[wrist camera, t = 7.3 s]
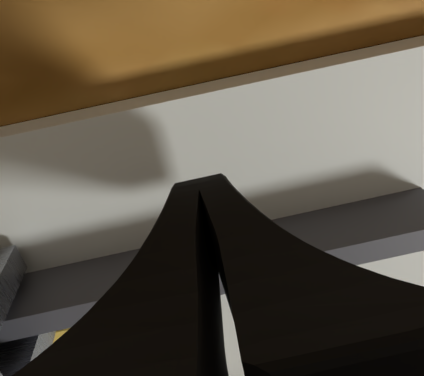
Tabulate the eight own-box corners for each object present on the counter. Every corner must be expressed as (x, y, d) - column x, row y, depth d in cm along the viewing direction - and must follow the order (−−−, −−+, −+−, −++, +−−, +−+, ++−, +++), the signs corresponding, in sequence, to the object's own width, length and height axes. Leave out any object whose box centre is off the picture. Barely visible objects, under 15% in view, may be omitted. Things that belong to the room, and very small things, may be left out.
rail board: (413, 341, 19) (453, 402, 16) (-48, 442, 19) (-81, 519, 16) (448, 29, 12) (529, 50, 9) (-293, 190, 12) (-422, 256, 9)
